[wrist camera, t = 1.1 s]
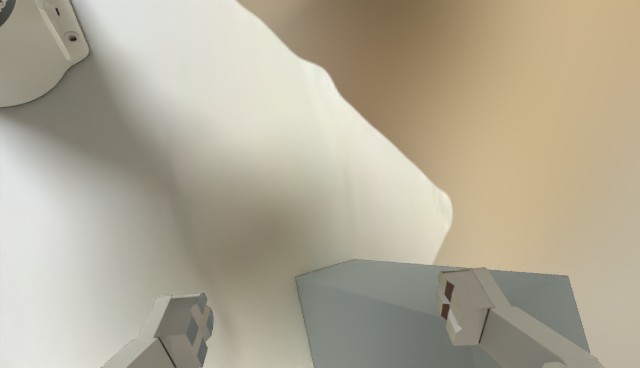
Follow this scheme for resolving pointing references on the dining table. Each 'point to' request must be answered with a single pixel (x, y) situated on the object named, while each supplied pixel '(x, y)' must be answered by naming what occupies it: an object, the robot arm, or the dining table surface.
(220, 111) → the dining table surface
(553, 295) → the cabinet
